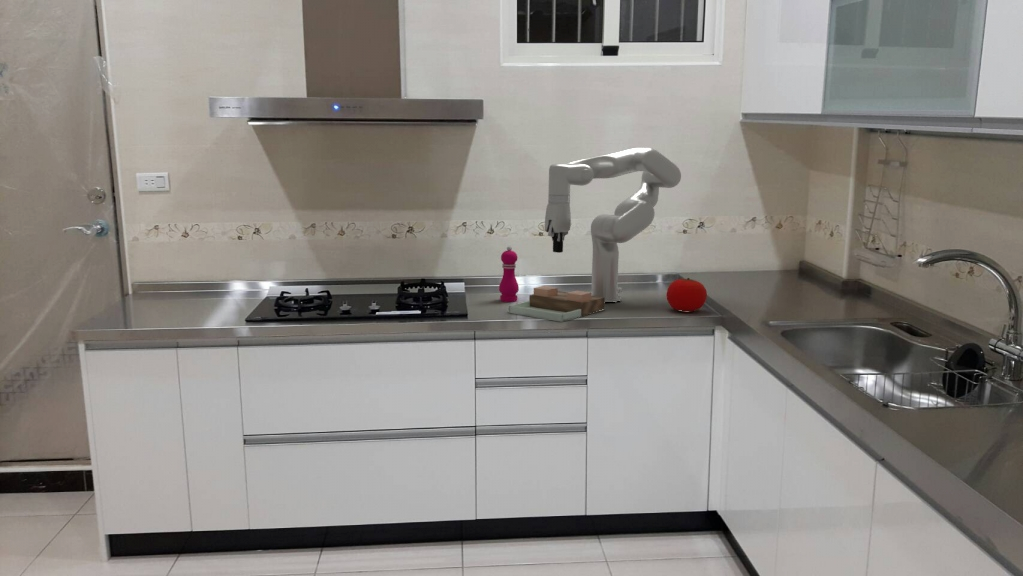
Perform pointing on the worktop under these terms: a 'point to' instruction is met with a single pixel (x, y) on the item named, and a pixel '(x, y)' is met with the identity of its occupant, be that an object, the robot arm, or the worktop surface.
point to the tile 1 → (545, 291)
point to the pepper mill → (508, 277)
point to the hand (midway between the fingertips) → (557, 252)
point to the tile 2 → (579, 296)
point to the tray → (542, 312)
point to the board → (567, 303)
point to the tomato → (686, 295)
